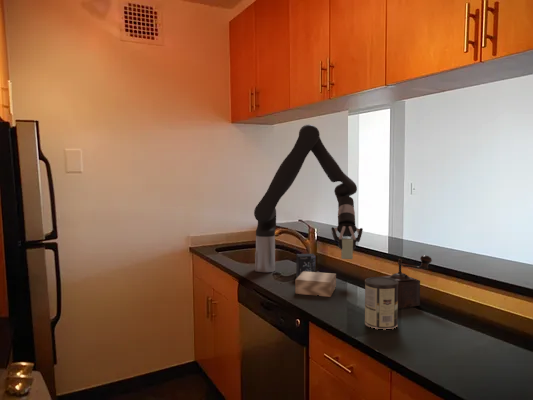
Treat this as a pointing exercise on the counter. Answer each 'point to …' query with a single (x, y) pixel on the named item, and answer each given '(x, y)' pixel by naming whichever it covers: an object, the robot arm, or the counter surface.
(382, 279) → the coffee can
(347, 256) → the green block
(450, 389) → the counter surface
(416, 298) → the coffee grinder
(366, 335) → the counter surface
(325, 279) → the maple block
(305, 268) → the box
